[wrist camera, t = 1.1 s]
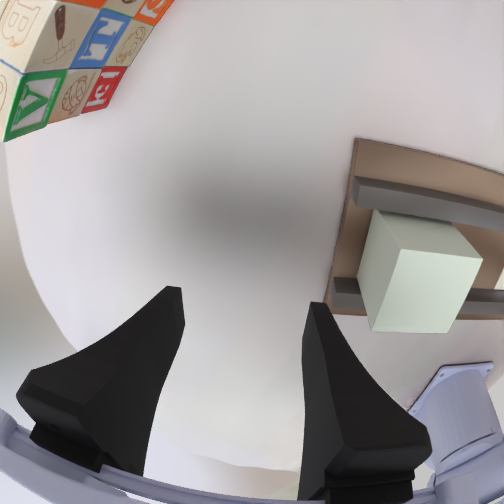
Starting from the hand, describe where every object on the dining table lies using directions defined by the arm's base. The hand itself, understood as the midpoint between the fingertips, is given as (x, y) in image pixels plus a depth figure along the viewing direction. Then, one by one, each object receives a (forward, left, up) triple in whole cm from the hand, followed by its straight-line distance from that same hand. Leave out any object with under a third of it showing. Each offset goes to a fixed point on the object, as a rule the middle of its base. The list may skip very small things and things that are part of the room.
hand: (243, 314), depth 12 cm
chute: (0, -16, -8) cm, 18 cm away
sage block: (0, -9, -7) cm, 12 cm away
